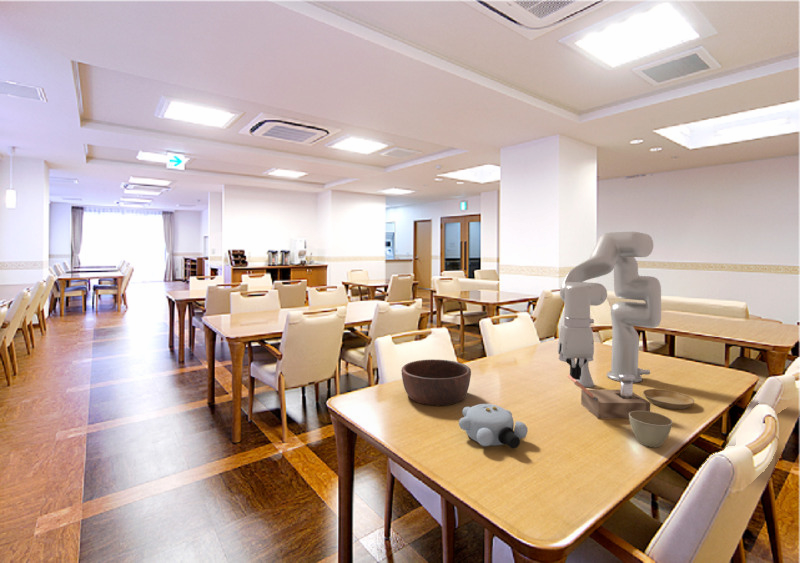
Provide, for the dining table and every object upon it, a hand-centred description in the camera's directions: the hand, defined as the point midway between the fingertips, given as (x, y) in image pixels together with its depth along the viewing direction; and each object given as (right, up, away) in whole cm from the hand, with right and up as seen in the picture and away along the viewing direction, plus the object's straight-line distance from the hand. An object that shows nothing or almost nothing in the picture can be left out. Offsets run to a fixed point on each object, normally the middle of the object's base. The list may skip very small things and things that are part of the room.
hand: (575, 378), depth 130 cm
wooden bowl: (-44, -10, +15) cm, 48 cm away
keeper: (+1, -3, 0) cm, 3 cm away
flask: (+15, -9, +26) cm, 32 cm away
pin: (+17, -10, 0) cm, 20 cm away
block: (+13, -11, 0) cm, 17 cm away
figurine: (-31, -13, -18) cm, 38 cm away
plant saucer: (+35, -11, +7) cm, 37 cm away
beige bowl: (+11, -13, -21) cm, 27 cm away
